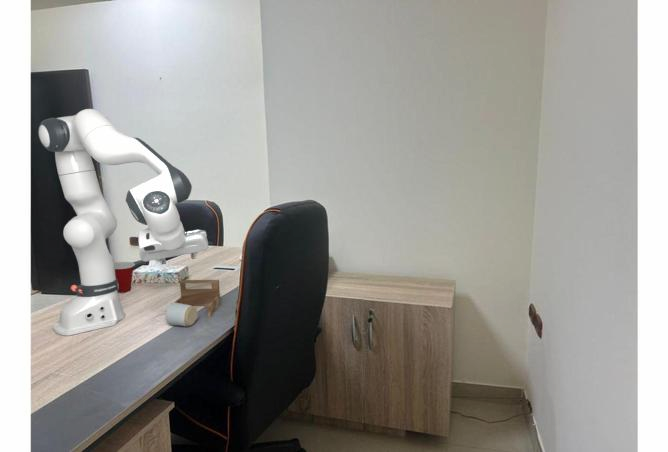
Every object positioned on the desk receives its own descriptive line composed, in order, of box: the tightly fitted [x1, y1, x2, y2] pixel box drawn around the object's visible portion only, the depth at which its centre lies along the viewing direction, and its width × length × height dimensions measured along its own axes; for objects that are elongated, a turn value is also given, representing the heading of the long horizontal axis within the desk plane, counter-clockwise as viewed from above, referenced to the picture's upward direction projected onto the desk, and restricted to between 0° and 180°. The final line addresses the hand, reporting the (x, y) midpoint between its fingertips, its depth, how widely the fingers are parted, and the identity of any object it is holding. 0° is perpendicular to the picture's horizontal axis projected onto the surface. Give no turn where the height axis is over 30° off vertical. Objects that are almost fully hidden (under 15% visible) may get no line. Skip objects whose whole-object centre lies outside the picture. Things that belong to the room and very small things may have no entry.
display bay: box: [174, 279, 221, 318], centre depth 167 cm, size 13×15×10 cm
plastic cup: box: [114, 261, 136, 294], centre depth 194 cm, size 11×11×12 cm
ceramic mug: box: [165, 301, 199, 328], centre depth 156 cm, size 11×8×8 cm
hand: (178, 259), depth 144 cm, fingers open, 8 cm apart
